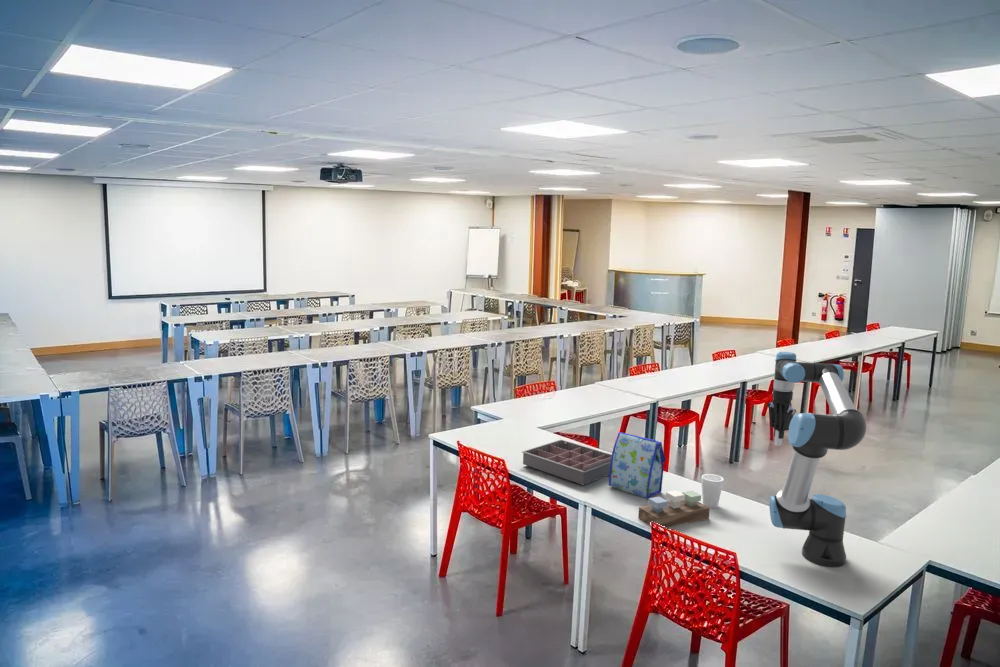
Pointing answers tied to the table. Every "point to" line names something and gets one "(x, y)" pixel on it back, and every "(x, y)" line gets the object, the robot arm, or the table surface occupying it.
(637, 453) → the lunch bag
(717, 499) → the foam cup
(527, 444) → the table surface
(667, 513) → the wooden socket block
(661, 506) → the slate key
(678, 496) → the cream key
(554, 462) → the organizer tray
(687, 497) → the sage key
